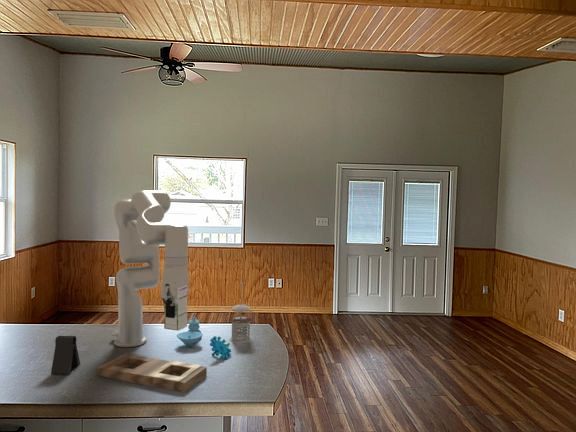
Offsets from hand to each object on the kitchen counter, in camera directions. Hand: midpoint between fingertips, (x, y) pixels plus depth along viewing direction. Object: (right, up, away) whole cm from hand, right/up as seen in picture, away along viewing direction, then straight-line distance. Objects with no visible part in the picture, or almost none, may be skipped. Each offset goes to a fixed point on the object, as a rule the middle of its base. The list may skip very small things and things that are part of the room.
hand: (175, 314), depth 151 cm
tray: (-9, -22, +4) cm, 24 cm away
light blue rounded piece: (-3, -21, +39) cm, 44 cm away
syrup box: (0, -5, 0) cm, 5 cm away
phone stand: (-41, -21, +8) cm, 47 cm away
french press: (+18, -21, +45) cm, 52 cm away
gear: (+12, -22, +24) cm, 34 cm away
